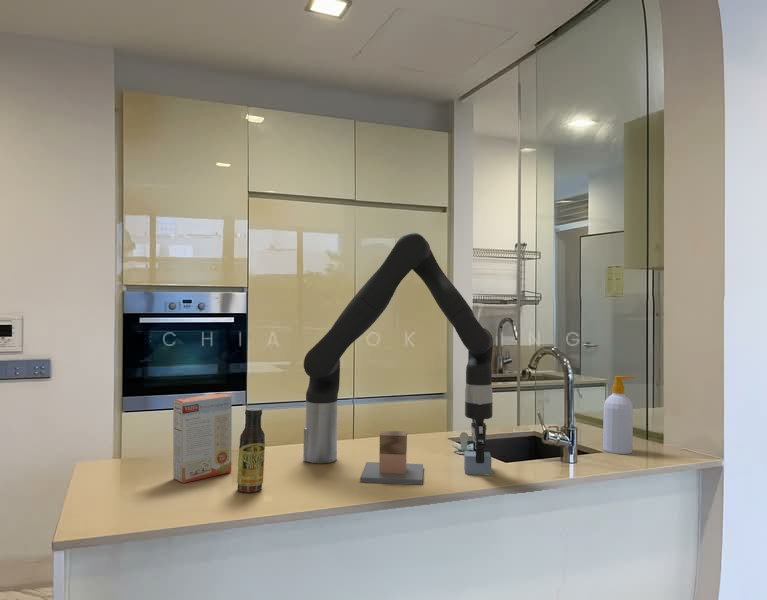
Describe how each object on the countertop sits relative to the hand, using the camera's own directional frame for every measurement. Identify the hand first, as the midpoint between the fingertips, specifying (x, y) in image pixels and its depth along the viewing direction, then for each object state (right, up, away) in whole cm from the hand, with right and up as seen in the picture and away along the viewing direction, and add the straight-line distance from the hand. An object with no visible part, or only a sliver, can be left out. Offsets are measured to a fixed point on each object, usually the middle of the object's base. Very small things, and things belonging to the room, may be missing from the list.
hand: (478, 458), depth 156 cm
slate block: (0, -4, 0) cm, 4 cm away
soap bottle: (+49, -5, +24) cm, 55 cm away
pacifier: (-1, -4, +20) cm, 20 cm away
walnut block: (-24, +3, -4) cm, 24 cm away
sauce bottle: (-59, -3, -17) cm, 62 cm away
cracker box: (-74, -3, -7) cm, 74 cm away
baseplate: (-24, -3, -4) cm, 24 cm away
